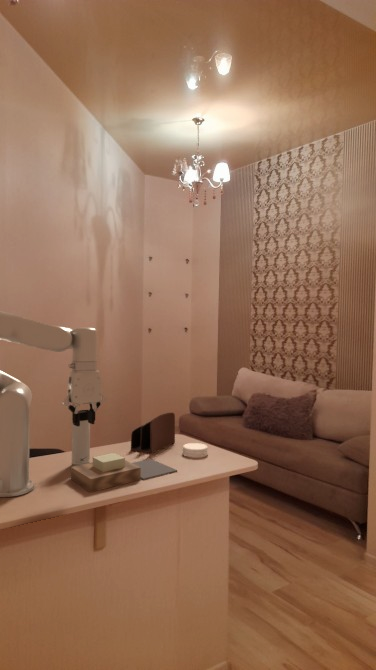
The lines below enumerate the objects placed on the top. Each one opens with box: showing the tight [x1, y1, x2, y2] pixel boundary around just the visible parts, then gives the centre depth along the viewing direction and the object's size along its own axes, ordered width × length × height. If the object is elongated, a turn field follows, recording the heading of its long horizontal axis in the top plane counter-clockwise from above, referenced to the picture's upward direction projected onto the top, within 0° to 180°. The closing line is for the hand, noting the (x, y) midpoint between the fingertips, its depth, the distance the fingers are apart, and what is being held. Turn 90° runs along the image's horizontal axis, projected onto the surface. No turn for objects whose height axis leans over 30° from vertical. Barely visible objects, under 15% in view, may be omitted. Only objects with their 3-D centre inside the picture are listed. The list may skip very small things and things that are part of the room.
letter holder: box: [130, 412, 176, 455], centre depth 185 cm, size 10×20×14 cm, turn 154°
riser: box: [70, 459, 142, 493], centre depth 145 cm, size 18×14×4 cm
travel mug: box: [71, 409, 91, 467], centre depth 159 cm, size 6×7×20 cm
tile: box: [92, 452, 126, 472], centre depth 146 cm, size 8×7×3 cm
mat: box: [131, 458, 178, 481], centre depth 156 cm, size 14×16×1 cm
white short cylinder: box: [182, 442, 209, 459], centre depth 175 cm, size 10×10×4 cm
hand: (84, 423), depth 140 cm, fingers open, 4 cm apart
